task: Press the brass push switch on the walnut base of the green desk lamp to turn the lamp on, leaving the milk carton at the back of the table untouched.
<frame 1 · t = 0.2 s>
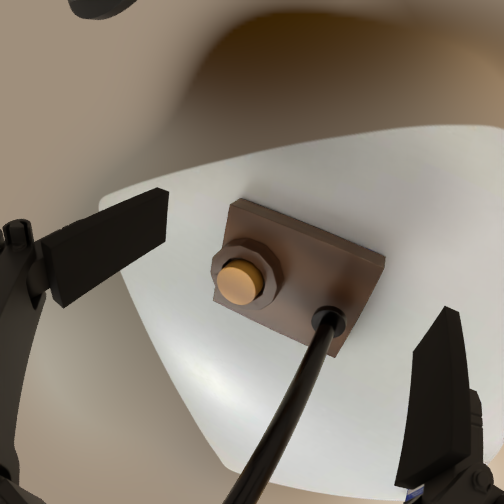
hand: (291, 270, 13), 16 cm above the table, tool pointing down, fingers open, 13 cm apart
milk carton: (431, 484, 37), on the table
lamp switch: (240, 282, 29), point 4 cm above the table, slide at 0.1 cm
lamp: (295, 453, 16), on the lamp base, point 18 cm above the table
lamp base: (294, 276, 31), on the table
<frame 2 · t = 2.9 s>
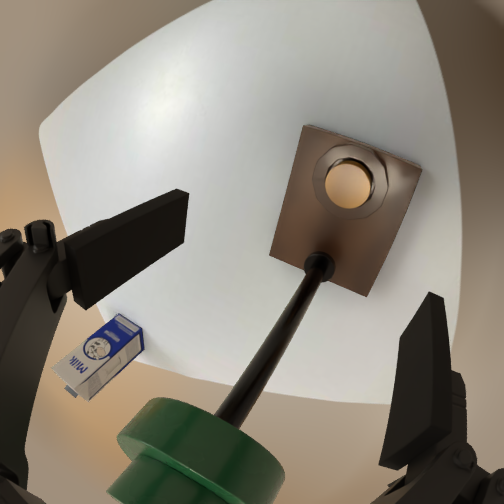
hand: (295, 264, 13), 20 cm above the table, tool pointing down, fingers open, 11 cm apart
milk carton: (132, 331, 61), on the table
lamp switch: (348, 184, 26), point 4 cm above the table, slide at 0.1 cm
lamp: (264, 367, 21), on the lamp base, point 18 cm above the table
lamp base: (343, 209, 32), on the table
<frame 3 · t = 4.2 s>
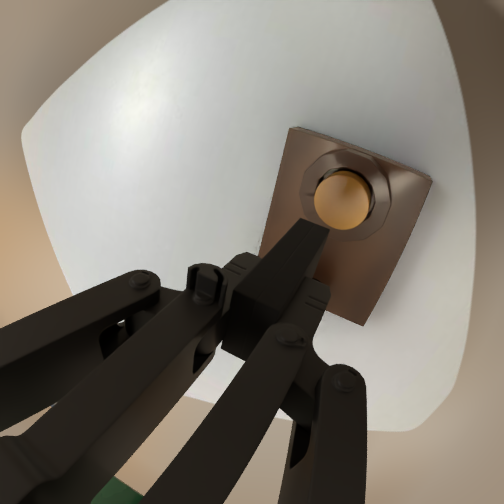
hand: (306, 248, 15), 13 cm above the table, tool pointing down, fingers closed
lamp switch: (343, 199, 22), point 4 cm above the table, slide at 0.1 cm
lamp: (233, 422, 17), on the lamp base, point 18 cm above the table
lamp base: (337, 226, 27), on the table
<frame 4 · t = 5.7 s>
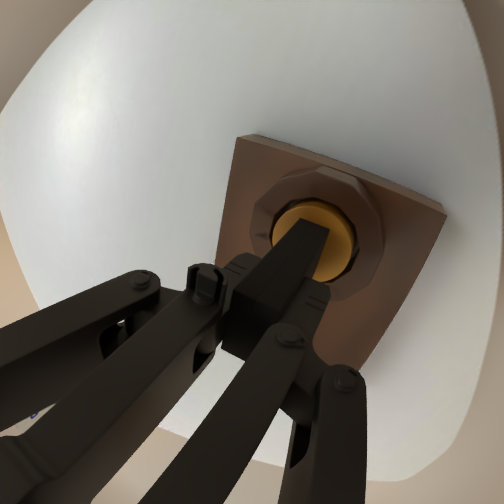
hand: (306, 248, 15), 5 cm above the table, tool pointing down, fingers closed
lamp switch: (315, 239, 15), point 4 cm above the table, slide at -0.9 cm, touching gripper
lamp base: (311, 270, 20), on the table
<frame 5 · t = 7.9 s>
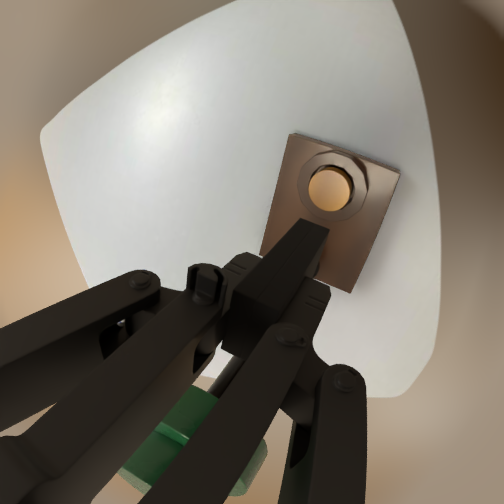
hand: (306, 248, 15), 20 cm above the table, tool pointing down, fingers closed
lamp switch: (330, 188, 29), point 4 cm above the table, slide at 0.1 cm
lamp: (251, 354, 23), on the lamp base, point 18 cm above the table
lamp base: (327, 212, 34), on the table
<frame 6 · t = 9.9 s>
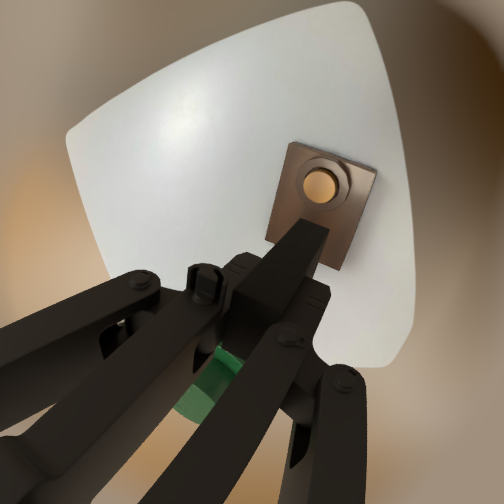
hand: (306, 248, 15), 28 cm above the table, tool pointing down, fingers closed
lamp switch: (320, 185, 37), point 4 cm above the table, slide at 0.1 cm
lamp: (260, 308, 32), on the lamp base, point 18 cm above the table
lamp base: (320, 204, 43), on the table
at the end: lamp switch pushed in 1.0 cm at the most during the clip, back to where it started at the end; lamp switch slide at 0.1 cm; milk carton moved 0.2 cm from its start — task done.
